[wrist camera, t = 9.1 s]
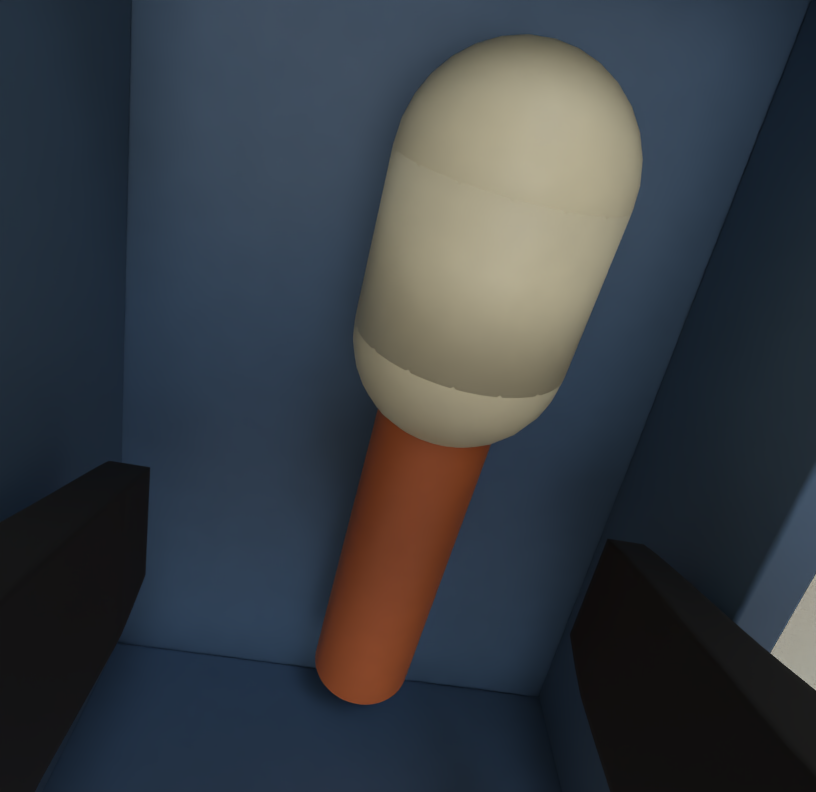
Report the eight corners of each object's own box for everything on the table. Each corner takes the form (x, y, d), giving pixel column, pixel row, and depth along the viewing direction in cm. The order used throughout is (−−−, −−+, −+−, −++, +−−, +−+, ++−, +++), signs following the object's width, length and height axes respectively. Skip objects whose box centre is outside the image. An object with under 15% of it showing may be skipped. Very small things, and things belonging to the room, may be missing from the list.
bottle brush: (397, 590, 16) (464, 713, 14) (262, 618, 15) (310, 762, 12) (574, 48, 10) (747, 91, 8) (380, -10, 9) (521, 22, 6)
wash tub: (552, 696, 17) (613, 929, 12) (97, 636, 16) (-30, 869, 11) (850, -42, 10) (1240, -157, 6) (100, -236, 9) (-214, -584, 5)
